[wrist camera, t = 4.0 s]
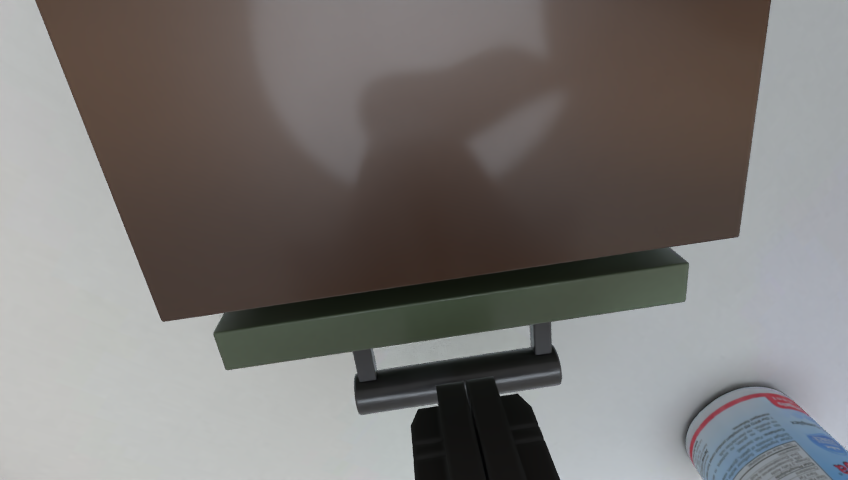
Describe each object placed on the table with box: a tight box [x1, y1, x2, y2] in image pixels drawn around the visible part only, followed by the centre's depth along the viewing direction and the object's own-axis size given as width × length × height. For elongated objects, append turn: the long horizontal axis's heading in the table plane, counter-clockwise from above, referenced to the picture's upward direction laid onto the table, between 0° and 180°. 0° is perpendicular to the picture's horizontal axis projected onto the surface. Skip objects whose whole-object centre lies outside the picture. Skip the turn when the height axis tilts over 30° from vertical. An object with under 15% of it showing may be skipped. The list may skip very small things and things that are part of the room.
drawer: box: [214, 247, 689, 415], centre depth 15 cm, size 20×12×8 cm, turn 7°
